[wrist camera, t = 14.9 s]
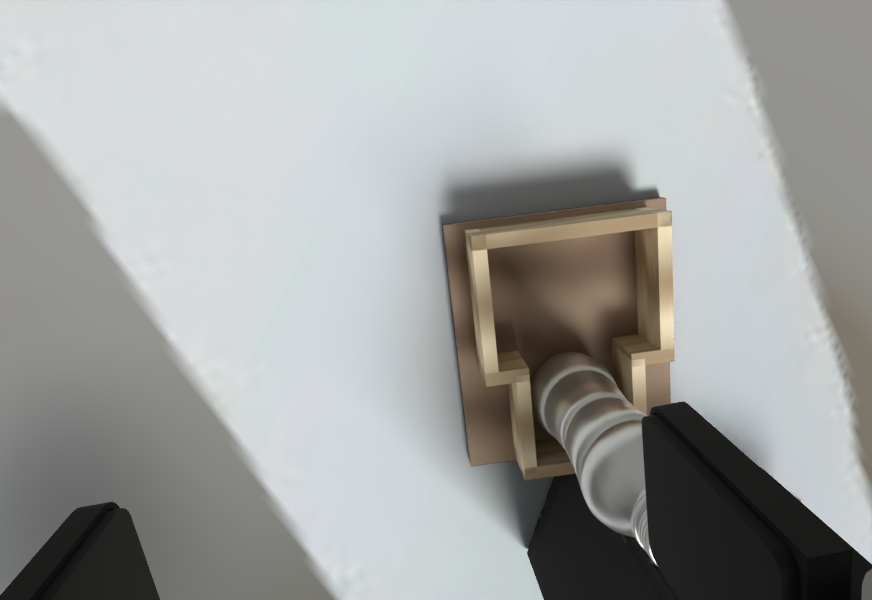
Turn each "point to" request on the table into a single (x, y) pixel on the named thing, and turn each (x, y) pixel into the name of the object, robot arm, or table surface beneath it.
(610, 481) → the plastic bottle
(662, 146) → the table surface
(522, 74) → the table surface
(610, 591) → the black drawer cabinet
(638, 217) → the keyhole plate
